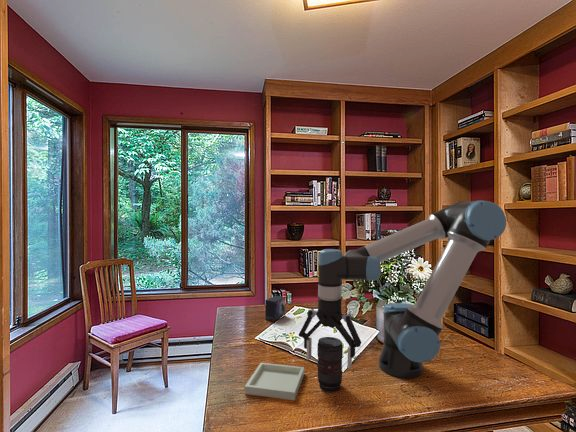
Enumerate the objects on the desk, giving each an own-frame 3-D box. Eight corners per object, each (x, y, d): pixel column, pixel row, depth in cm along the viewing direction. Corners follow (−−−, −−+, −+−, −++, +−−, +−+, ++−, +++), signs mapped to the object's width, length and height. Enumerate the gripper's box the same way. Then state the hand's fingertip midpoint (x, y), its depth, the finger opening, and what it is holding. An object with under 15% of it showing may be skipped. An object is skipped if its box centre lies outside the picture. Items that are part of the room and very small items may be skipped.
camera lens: (342, 395, 101) (342, 347, 101) (316, 392, 103) (316, 345, 102) (343, 381, 109) (343, 337, 109) (318, 379, 111) (318, 335, 110)
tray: (304, 374, 114) (304, 367, 114) (294, 400, 98) (294, 392, 98) (260, 369, 118) (260, 362, 118) (244, 393, 102) (244, 386, 102)
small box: (275, 322, 166) (275, 301, 166) (264, 319, 170) (264, 299, 169) (286, 316, 175) (285, 296, 175) (275, 314, 179) (275, 295, 178)
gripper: (371, 299, 104) (369, 365, 104) (298, 290, 114) (297, 350, 114) (366, 305, 97) (365, 376, 97) (289, 295, 107) (288, 359, 107)
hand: (328, 362), depth 106 cm, fingers open, 13 cm apart
